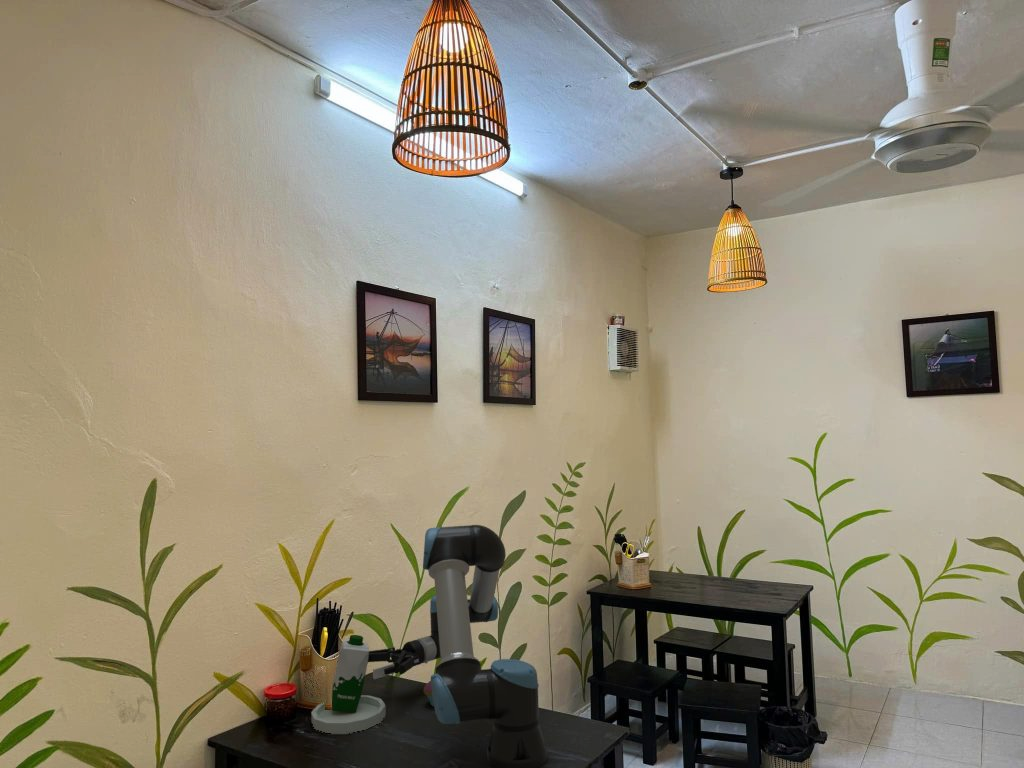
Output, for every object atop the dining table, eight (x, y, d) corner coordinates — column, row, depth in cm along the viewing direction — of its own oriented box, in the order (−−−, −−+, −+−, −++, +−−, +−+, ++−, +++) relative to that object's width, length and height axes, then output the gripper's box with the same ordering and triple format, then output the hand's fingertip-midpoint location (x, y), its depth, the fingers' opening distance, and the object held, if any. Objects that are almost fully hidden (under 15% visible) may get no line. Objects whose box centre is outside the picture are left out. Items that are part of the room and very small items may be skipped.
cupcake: (457, 701, 217) (456, 661, 218) (440, 711, 210) (439, 670, 210) (435, 697, 221) (434, 657, 222) (418, 706, 214) (417, 665, 215)
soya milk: (357, 703, 216) (370, 636, 218) (359, 714, 207) (372, 644, 209) (328, 700, 214) (342, 632, 216) (328, 711, 205) (342, 641, 207)
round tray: (399, 714, 209) (398, 703, 209) (345, 740, 192) (345, 728, 192) (352, 700, 221) (351, 690, 221) (297, 724, 204) (297, 713, 204)
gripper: (443, 672, 216) (385, 692, 201) (396, 655, 234) (339, 672, 219) (443, 647, 217) (384, 665, 202) (395, 632, 234) (338, 647, 220)
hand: (360, 669), depth 210 cm, fingers open, 13 cm apart
